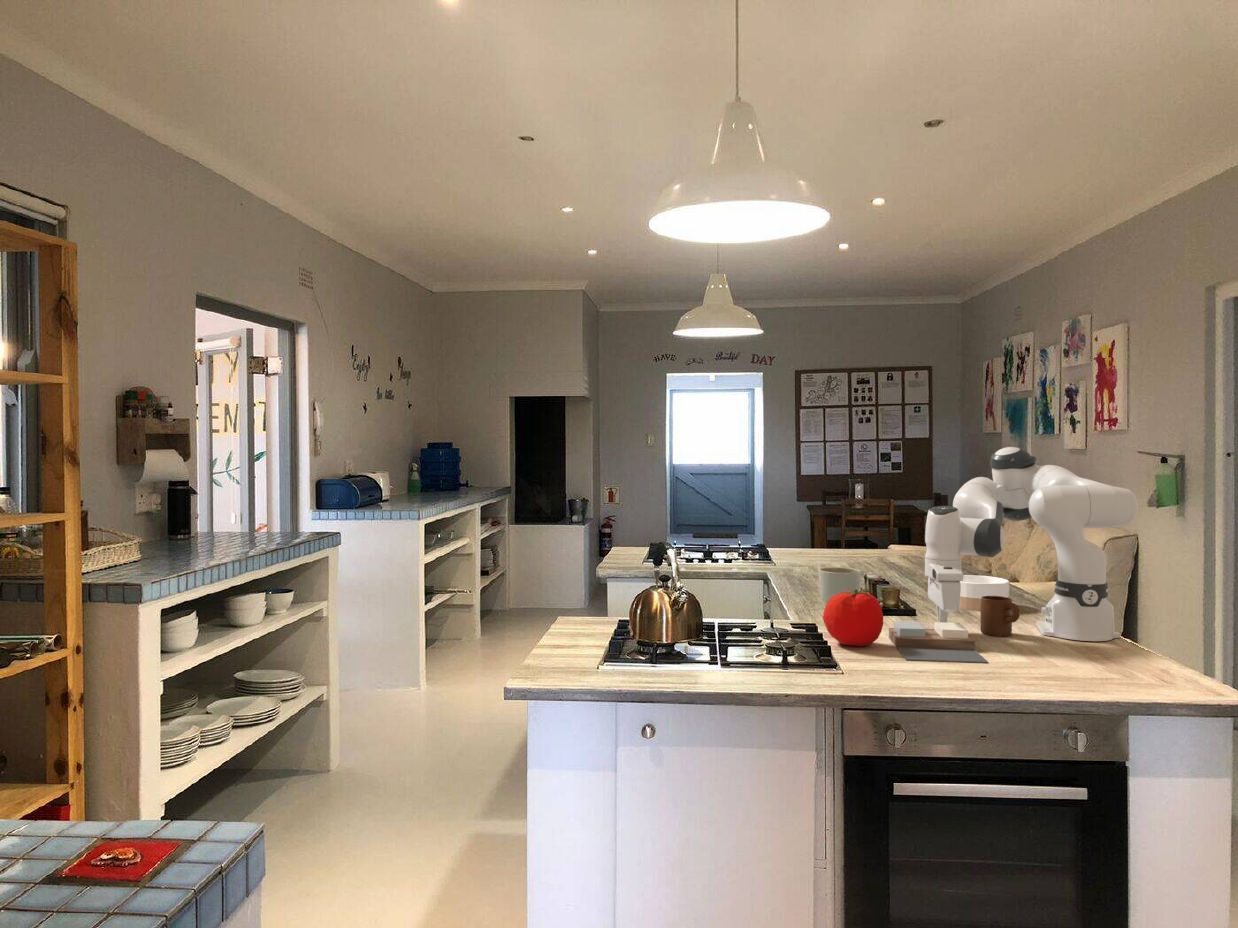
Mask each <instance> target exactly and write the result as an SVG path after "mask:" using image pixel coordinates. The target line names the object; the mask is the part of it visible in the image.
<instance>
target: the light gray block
mask: <svg viewBox="0 0 1238 928" xmlns="http://www.w3.org/2000/svg"><path fill="white" fill-rule="evenodd" d="M893 628H894V630H895V631H896V632H897V634H898V635H899V636H900V637H925V629H926V628H925V627H924V626H923V625H922V624H921V623H920V622H919V621H908V620H907V621H905V620H904V621H899V620H894V621H893Z"/></svg>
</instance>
